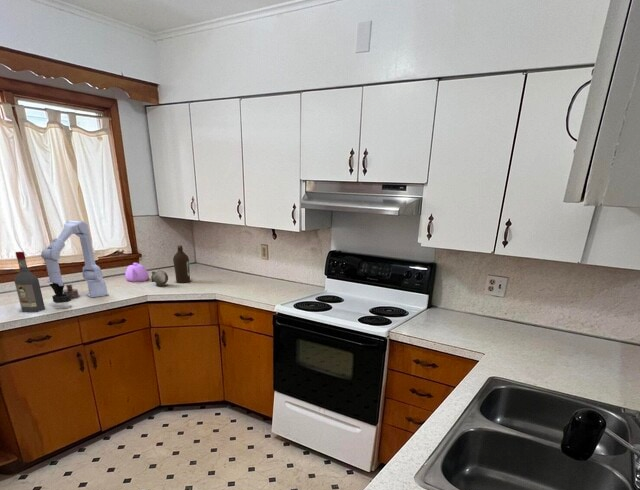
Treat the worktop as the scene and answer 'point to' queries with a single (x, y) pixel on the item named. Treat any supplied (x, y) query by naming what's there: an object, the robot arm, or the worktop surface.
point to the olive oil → (181, 266)
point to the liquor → (28, 287)
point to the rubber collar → (61, 298)
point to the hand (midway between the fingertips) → (59, 296)
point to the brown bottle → (71, 291)
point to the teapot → (136, 273)
